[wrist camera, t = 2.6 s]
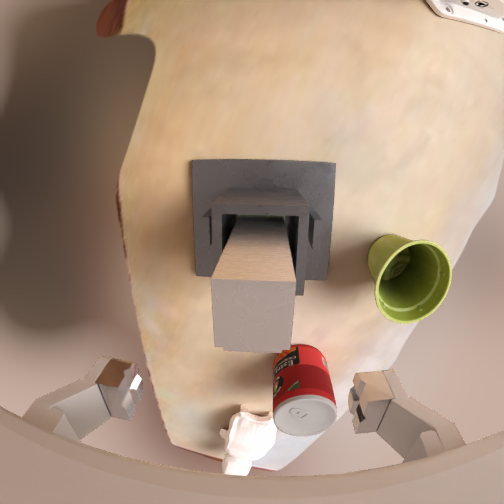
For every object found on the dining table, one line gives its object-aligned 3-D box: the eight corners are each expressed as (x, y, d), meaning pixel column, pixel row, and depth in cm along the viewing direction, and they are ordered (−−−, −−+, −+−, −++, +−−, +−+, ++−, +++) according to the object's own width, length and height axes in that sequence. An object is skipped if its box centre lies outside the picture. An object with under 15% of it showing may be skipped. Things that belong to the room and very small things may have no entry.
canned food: (287, 335, 40) (292, 391, 30) (336, 352, 41) (350, 407, 30) (263, 372, 42) (261, 428, 32) (309, 387, 43) (316, 441, 33)
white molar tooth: (233, 394, 48) (210, 454, 48) (233, 417, 40) (208, 480, 39) (278, 405, 49) (252, 464, 48) (286, 428, 40) (255, 490, 40)
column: (282, 204, 33) (299, 278, 14) (280, 245, 34) (292, 358, 15) (243, 203, 33) (207, 275, 14) (243, 244, 34) (212, 355, 16)
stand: (333, 163, 32) (370, 170, 20) (325, 276, 37) (348, 335, 25) (194, 159, 33) (152, 165, 21) (197, 272, 38) (167, 328, 25)
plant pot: (339, 256, 36) (357, 287, 28) (393, 205, 33) (426, 221, 25) (380, 302, 38) (403, 338, 29) (430, 256, 35) (463, 282, 27)
